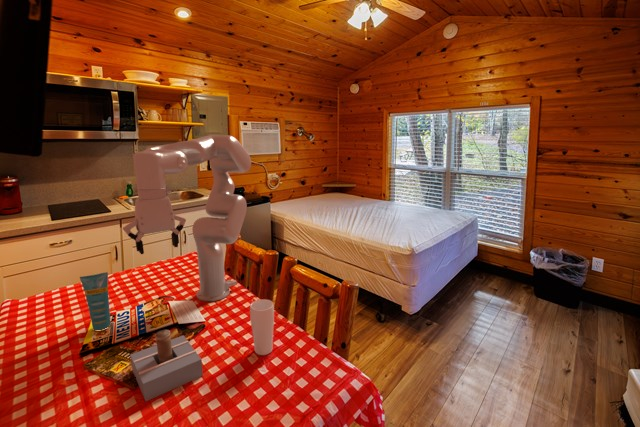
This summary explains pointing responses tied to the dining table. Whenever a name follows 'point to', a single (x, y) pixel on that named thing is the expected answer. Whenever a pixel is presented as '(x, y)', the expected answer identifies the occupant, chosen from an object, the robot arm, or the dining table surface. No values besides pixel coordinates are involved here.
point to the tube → (97, 299)
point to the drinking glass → (262, 325)
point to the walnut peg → (164, 346)
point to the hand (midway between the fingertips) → (158, 249)
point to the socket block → (166, 368)
